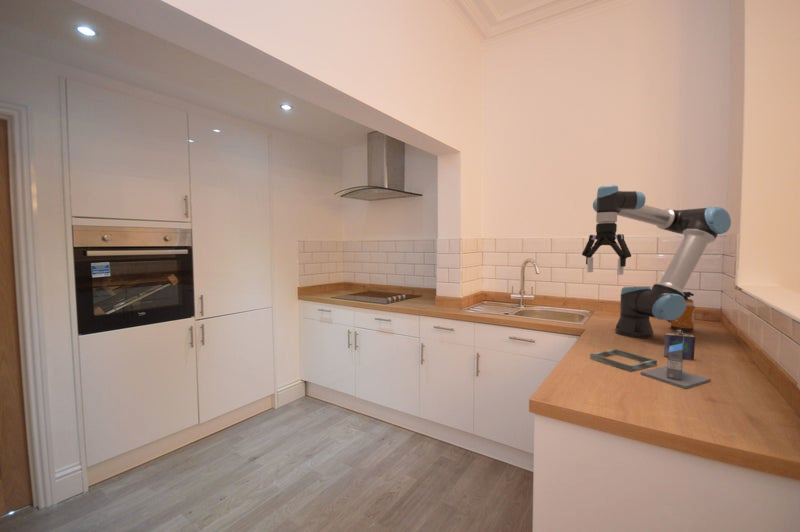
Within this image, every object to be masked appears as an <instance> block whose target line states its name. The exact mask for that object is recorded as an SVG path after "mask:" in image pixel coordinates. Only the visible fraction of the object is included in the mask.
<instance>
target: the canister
mask: <svg viewBox="0 0 800 532" xmlns="http://www.w3.org/2000/svg"><path fill="white" fill-rule="evenodd" d="M683 293H684V295H685V296H684V299H685V302H686V304H685V305H686V308H685V311H684V313H683V314H682V315H681V316H680V317H679V318H677V319H674V320H666V321H667V322H668V323H670V329H671V330H672V331H674V330H682V331H683V332H682V333H684V332H689V333H692V331H693V332H694V331H695V330H694V329H695V313H696V312H695V311H696V306H695V305H694V303H695V302H694V300H693V299H691V297H693V296H694V295H695V293H692V292H690V291H683Z"/></svg>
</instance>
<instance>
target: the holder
mask: <svg viewBox="0 0 800 532" xmlns="http://www.w3.org/2000/svg"><path fill="white" fill-rule="evenodd" d="M616 354H618V356H620V355H621V356H620V357H624V358H627V357H628V358H627V359H631V360H634V361H637V360H638V363H637V362H636V363H633V364H626V363H625V362H621V361H617V360H614V359H611V358H608V357H611V355H612V356H615V355H616ZM606 356H607V357H606ZM616 356H617V355H616ZM589 357H590V358H589V359H591V360H593V361H596V362H599V363H603V364H605V363H606V364H605V365H608V364H609V366H611V365H612V367H615V368H618V369H622V370H624V371H628V372H633V371H639V370H642V369H647V368H651V367H655V366H658V360H657V359H654V358H649V357H646V356H644V355H641V354H635V353H633V352H628V351H625V350H621V349H618V348H614V349H608V350H604V351H599V352H592V353H590V354H589Z"/></svg>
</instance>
